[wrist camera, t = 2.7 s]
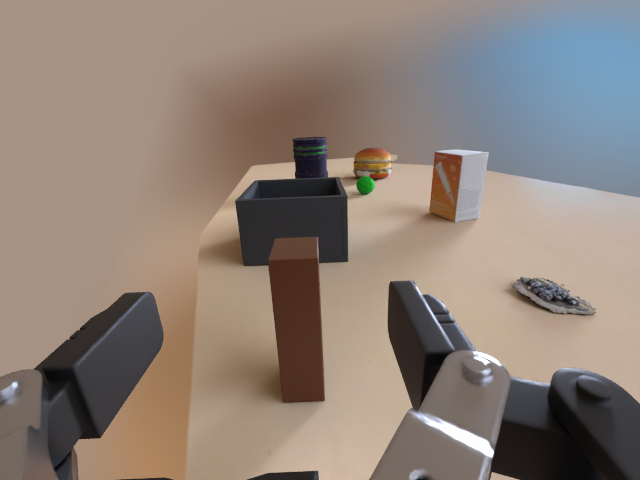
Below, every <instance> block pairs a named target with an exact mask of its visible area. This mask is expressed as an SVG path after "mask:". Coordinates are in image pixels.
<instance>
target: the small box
mask: <svg viewBox="0 0 640 480" xmlns="http://www.w3.org/2000/svg"><path fill="white" fill-rule="evenodd" d="M488 154H489V153H484V152H477V151H465V150H446V151H437V152H435V158H434V168H433V179H432V190H431V201H430V212H431V213H434V214H436V215H439V216H441V217H444V218H446V219H449V220H451V221H453V222H460V221H466V220H472V219H477V218H479V217H480V210H481V203H482V196H483V189H484V182H485V175H486V167H487V161H488Z"/></svg>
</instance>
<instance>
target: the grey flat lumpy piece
mask: <svg viewBox="0 0 640 480" xmlns="http://www.w3.org/2000/svg"><path fill="white" fill-rule="evenodd" d="M520 279H521V280H520ZM520 279H519V280H518V279H517V281H518V284H513V286H512V287H514V288H516V289H517V290H518V291H519V292H521V293H522V294H525V295H526V296H529V297H530V298H532V299H531V300H534V301H536V303H537V304H538V305H540V306H543V307H547V309H550V310H551V311H552V312H554V313H555V312H556V313H564V314H568V312H570V313H573V314H575V313H577V314H585V315H590V314H592V315H593V314H594V313H595V311H594V310H595V308H594V307H593V306H592V305H591V304H590V302H586V300H581V298H580V297H575V296H571V295H570V294H569V293H568V292H571V291H569V290H568V291H566V289H564V288H562V287H564V285H563V284H562V285H560V286H558V285H557V283H554V282H552V281H549V280H548V279H547V280H545V279H542V278H533V279H530V278H529V279H528V278H524V277H520ZM511 285H512V284H511Z"/></svg>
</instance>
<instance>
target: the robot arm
mask: <svg viewBox="0 0 640 480" xmlns="http://www.w3.org/2000/svg"><path fill="white" fill-rule="evenodd" d="M388 332H389V338H390V341H391V344H392V347H393V350H394V353H395V356H396V359H397V362H398V365H399V368H400V371H401V374H402V377H403V380H404V383H405V386H406V389H407V391H408V394H409V397H410V400H411V403H412V406H413V409H412V408H411V409H410V410H409V411H408V412H407V413H406V415H405V417H404V418H403V420H402V422H401V424H400V425H399V427H398V429H397V431H396V433H395V434H394V436H393V438H392V440H391V442H390V443H389V445H388V447H387V449H386V451H385V452H384V454H383V456H382V458H381V460H380V461H379V463H378V465H377V467H376V469H375V470H374V472H373V474H372V476H371V478H370V479H369V480H490V478H491V473H492V472H494V473H498V474H501V475H505V476H509V477H512V478H516V479H519V480H640V404H639V403H638V402H637V401H636V400H635V399H634V398H633V397H632V396H631V395H630V394H629V393H628V392H626V391H625V390H624V389H623V388H622V387H620V386H619V385H617V384H616V383H614V382H613V381H611V380H609V379H607V378H605V377H603V376H601V375H598V374H596V373H593V372H590V371H586V370H582V369H576V368H565V369H560V370H558V371H556V372H555V373H554V374H553V376H552V380H551V384H546V383H541V382H535V381H530V380H525V379H520V378H516V377H512V376H510V375H509V372H508V371H507V369H506V368H505V367H504V366H503V365H502V364H501V363H500V362H498V361H497V360H496V359H494V358H492V357H490V356H488V355H486V354H483V353H480V352H477V351H476V350H475V348H474V347H473V346H472V344H471V343H470V341H469V340H468V338H467V337H466V335H465V334H464V333H463V331H462V330H461V328H460V327H459V325H458V324H457V323H455V320H454V318H453V317H452V315H450V313H449V311H448V310H447V308H446V307H445V305H444V304H443V303H442V302H441V301H439V300H438V299H436V298H435V297H433V296H432V295H422V294H421V292H420V291H419V289H418V288H417V286H416V284H415V283H414V281H392V282H390V284H389V299H388ZM162 343H163V329H162V325H161V321H160V317H159V314H158V309H157V305H156V301H155V298H154V296H153V294H152V293H150V292H136V293H125V294H123V295H122V296H121V297H120V298H119V299H118V300H117V301H116V302H115V303H113V304H112V305H111V306H110V307H109V308H108V309H106V310H105V311H103V312H101V313H100V314H98V315H96V316H94V317H93V318H91V319H90V320H89V321H88V322H87V323H85V325H83V326H82V327H81V328H80V330H78V331H76V332H75V333H74V334H73V335H72V336H71V337H70V339H69V340H66V341H65V342H64V343H63V344H62V345H61V346H59V347H58V348H57V349H56V350H55V351H54V352H53V353H51V354H50V355H49V356H48V357H47V358H46V359H45V360H44V361H42V362H41V363H40V364H39V365H38V366H37V367H36V368H35V369H33V370H21V371H17V372H13V373H10V374H7V375H4V376H2V377H0V480H78V466H77V455H76V452H75V449H74V447H73V446H74V445H75V444H76V442H77V441H78V439H91V438H101V436H102V435H103V433H104V432H105V430H106V429H107V428H108V426H109V424H110V423H111V422H112V420H113V419H114V417H115V415H116V414H117V413H118V411H119V409H120V408H121V407H122V405H123V404H124V402H125V401H126V399H127V398H128V396H129V395H130V393H131V392H132V390H133V389H134V387H135V386H136V384H137V383H138V382H139V380H140V379H141V377H142V376H143V374H144V373H145V371H146V370H147V368H148V367H149V365H150V364H151V362H152V361H153V359H154V358H155V356H156V355H157V353H158V352H159V350H160V349H161V346H162ZM122 480H123V479H122ZM124 480H172V479H168V478H147V479H124ZM248 480H319V477H318V471H305V472H282V473H267V474H264V475H261V476H257V477H254V478H251V479H248Z"/></svg>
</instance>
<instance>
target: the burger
mask: <svg viewBox="0 0 640 480" xmlns="http://www.w3.org/2000/svg"><path fill="white" fill-rule="evenodd" d="M390 159H391V156H390V154H389V153H388V152H387V151H385V150H383V149H379V148H367V149H364V150H362V151H360V152H358V153H357V154H356V156H355V158H354V160H355V161H354V170H353V172H354V173H355V175H356V176H357V177H359V178H361V177H363V176H369V177H370V178H371V179H375V178H383V177H387V176H388V175H389V174H391V168H390V166H391V162H392V161H390Z"/></svg>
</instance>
